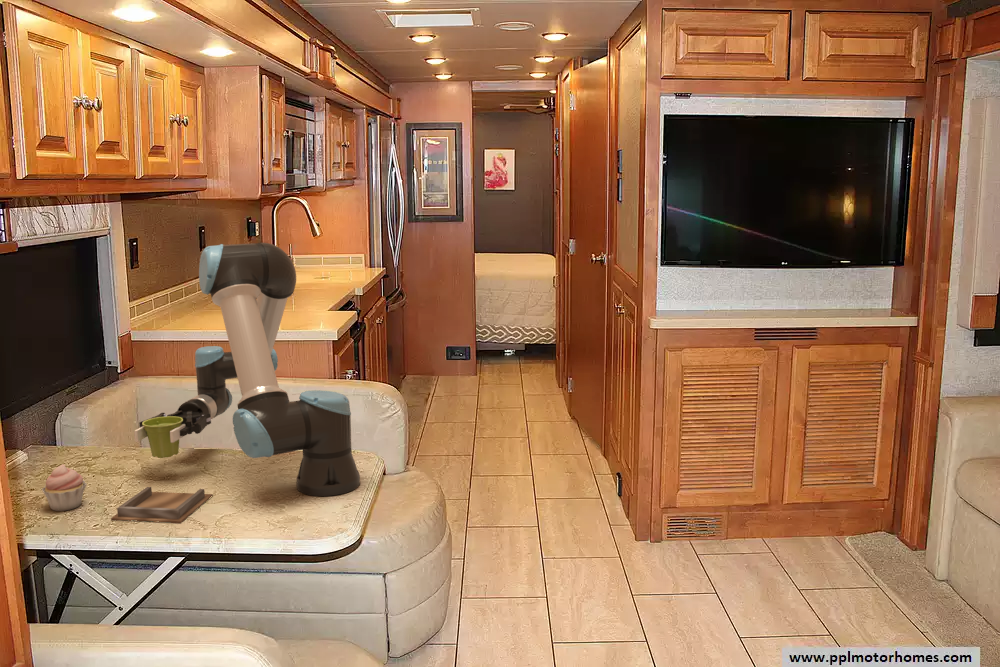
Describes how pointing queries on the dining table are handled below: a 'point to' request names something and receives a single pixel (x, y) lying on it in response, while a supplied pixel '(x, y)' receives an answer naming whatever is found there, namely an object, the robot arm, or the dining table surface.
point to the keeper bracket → (161, 506)
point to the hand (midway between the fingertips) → (153, 436)
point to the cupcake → (64, 489)
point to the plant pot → (162, 435)
